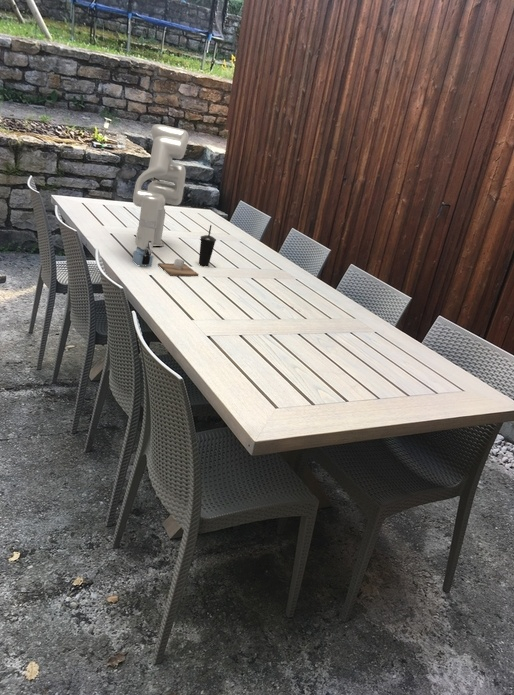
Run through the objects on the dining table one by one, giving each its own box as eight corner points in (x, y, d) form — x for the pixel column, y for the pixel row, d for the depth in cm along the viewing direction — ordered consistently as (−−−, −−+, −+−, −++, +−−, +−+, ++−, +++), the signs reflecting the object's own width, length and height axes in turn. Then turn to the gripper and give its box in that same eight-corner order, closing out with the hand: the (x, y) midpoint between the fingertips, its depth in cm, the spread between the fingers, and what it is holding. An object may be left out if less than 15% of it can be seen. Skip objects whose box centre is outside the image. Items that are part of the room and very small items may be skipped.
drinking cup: (212, 264, 291) (219, 225, 283) (209, 268, 284) (217, 228, 276) (197, 261, 291) (204, 222, 283) (194, 265, 284) (201, 224, 276)
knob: (132, 261, 268) (134, 245, 265) (145, 261, 272) (148, 246, 269) (137, 266, 263) (140, 250, 260) (151, 266, 267) (154, 251, 264)
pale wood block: (173, 268, 267) (174, 260, 266) (176, 266, 270) (177, 258, 269) (180, 270, 267) (181, 262, 265) (182, 268, 270) (184, 260, 268)
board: (157, 265, 270) (158, 263, 270) (184, 266, 278) (185, 264, 278) (170, 276, 260) (170, 273, 259) (198, 276, 268) (198, 274, 267)
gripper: (132, 217, 264) (127, 255, 271) (147, 228, 252) (142, 267, 259) (147, 218, 269) (142, 255, 276) (163, 229, 256) (157, 268, 263)
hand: (142, 261), depth 267 cm, fingers closed on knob, 6 cm apart
